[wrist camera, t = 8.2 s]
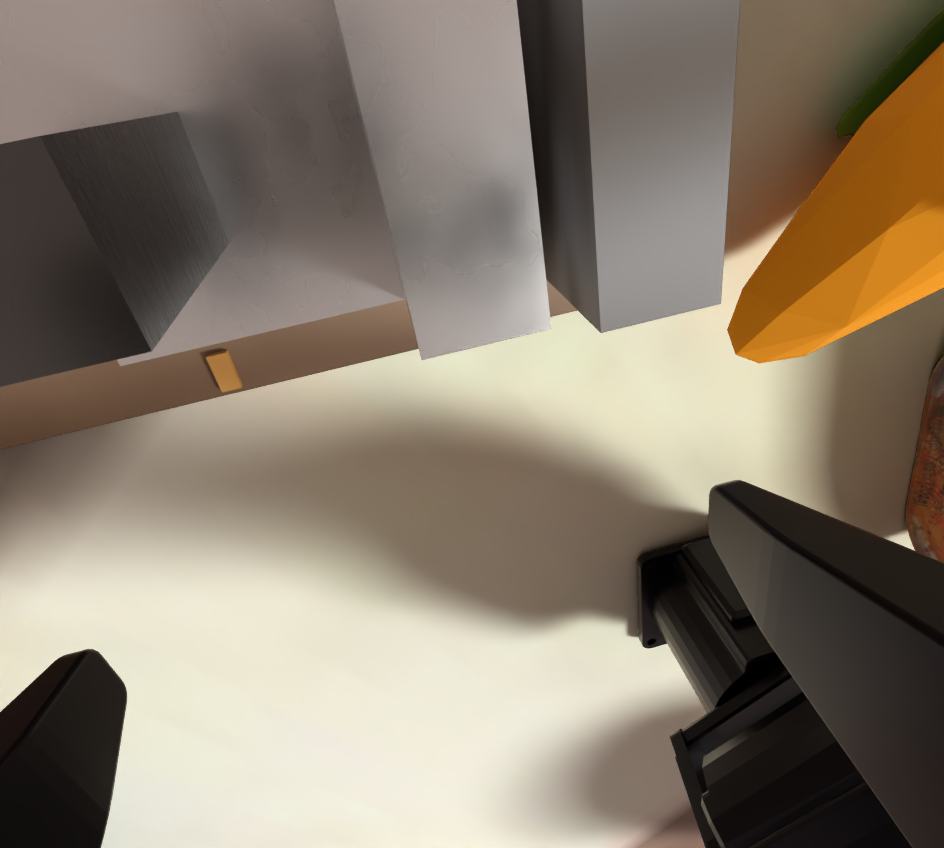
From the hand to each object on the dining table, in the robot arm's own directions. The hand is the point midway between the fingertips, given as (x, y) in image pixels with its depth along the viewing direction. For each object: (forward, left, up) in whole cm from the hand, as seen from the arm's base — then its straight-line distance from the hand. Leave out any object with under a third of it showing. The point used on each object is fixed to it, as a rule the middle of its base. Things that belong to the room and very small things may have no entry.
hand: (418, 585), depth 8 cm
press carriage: (+5, +2, -11) cm, 12 cm away
